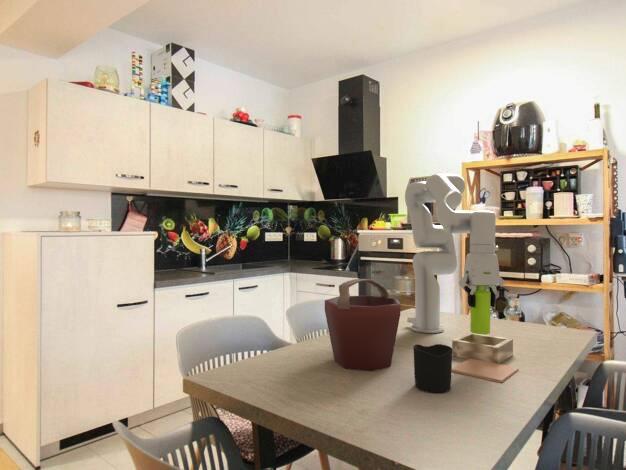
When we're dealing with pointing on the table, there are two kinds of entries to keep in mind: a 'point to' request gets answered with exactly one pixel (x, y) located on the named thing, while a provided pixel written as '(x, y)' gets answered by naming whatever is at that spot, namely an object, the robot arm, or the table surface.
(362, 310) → the bucket
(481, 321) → the soap dispenser
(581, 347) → the table surface
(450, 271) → the robot arm
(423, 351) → the pen holder
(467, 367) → the plate
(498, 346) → the open box
